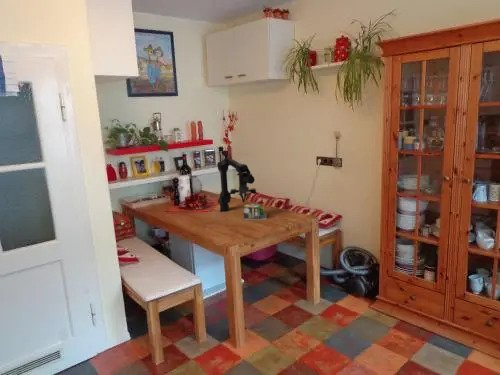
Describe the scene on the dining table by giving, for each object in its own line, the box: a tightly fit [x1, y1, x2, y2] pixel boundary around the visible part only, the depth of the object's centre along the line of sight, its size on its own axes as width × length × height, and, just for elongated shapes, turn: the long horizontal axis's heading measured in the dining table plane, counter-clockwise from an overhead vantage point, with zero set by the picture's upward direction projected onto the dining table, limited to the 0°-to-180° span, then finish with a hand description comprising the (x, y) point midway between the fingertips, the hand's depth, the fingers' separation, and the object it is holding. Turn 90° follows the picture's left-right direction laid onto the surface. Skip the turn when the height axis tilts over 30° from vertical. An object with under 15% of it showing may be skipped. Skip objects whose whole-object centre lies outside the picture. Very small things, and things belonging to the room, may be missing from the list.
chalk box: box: [243, 203, 265, 219], centre depth 271 cm, size 9×9×15 cm
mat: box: [243, 212, 268, 221], centre depth 274 cm, size 16×16×1 cm
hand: (243, 202), depth 273 cm, fingers closed
